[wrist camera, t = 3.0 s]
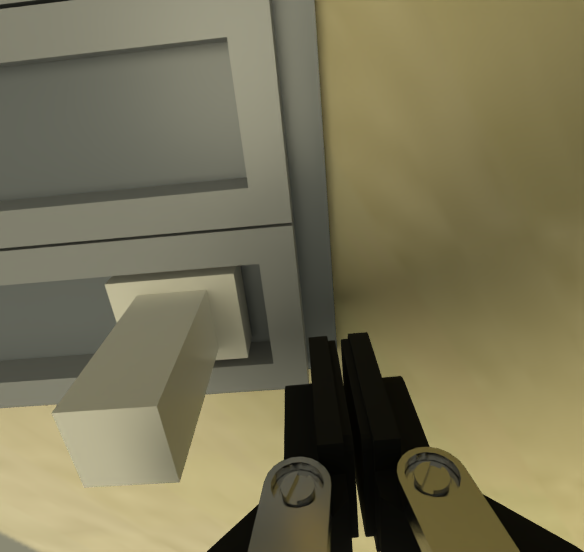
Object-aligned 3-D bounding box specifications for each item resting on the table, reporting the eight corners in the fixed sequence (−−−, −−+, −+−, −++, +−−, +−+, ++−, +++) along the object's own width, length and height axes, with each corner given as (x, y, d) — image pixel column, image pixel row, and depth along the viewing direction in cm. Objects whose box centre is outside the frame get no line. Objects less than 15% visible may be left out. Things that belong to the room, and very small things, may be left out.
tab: (238, 257, 16) (197, 385, 9) (252, 336, 17) (223, 493, 11) (120, 267, 16) (0, 398, 9) (143, 344, 17) (52, 503, 11)
